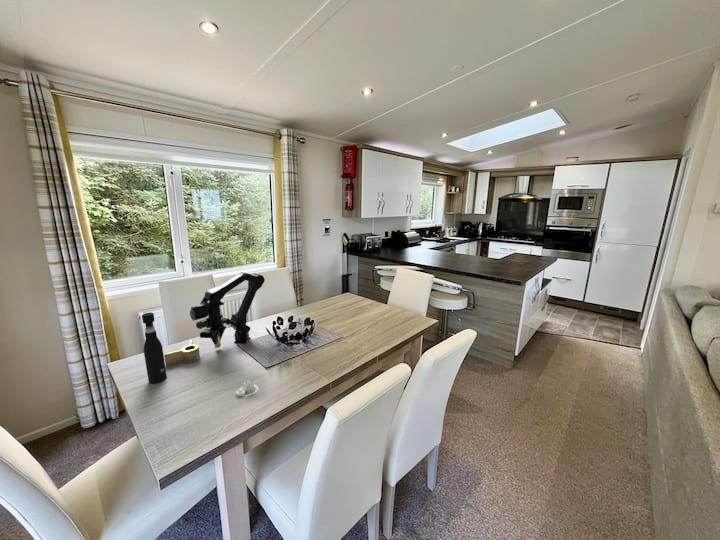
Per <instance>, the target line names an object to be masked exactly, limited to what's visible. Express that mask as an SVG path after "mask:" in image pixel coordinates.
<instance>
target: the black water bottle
mask: <svg viewBox="0 0 720 540" xmlns="http://www.w3.org/2000/svg"><path fill="white" fill-rule="evenodd" d="M141 318H142V324H145V329H144V337H145V341H144V345H143V355H144V361H145V367H146V373H147V379H148V380H147V381H148V383H149V384H151V385H153V384H159V383H161V382H164V381H166V379H167V378H168V377H167V369H166V364H165V357H164V350H163V349H164V348H163V345H162V342H161V340H160V339H159V338H158V336H157V330H156V328H155V326H154V322H155V321H156V320H155V313H154V312H146V313H143V314H141Z"/></svg>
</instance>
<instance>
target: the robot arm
mask: <svg viewBox="0 0 720 540" xmlns="http://www.w3.org/2000/svg"><path fill="white" fill-rule="evenodd" d="M245 281H247V290H246V293H245V295H244V297H243V299H242V302H241V304H240V306H239V309H238V310H237V312H236V313H233V314H231V318H228V317H227V318H226V317H225V318H224V316H223V314H222V313H221V306H223V305H225V303H224V302H223V301H221V300H222V299H223V298H225V295H226V294H227V293H228V292H230V291H232V290H233V289H235V288H236V287H238V286H239V285H241V284H242V283H243V282H245ZM264 283H265V277H264V275H262V274H259V273H252V274H251V273H246V272H244V271H243V272H242V271H241V272H239V273H238V274H237V275H235V276H234V277H232V278H230V279H229V280H227V281H226V282H224V283H222V284H221V285H219V286H214V287H212V288H210V289H208V290H207V291H205V293H204V296H203V298H202V299H201V301H200V304H199V305H198V304H197V305H193V306H191V309H190V311H189V316H190V319H191V320H192V321H196V322H195V327H196V328H197V329H199V330H202V329H203V328H205V329H203V330H202V331H200V333H199V338H202V339H211V342H212V343H213V345H214V344H215V345H216V344H217V342H218V337H219V333H218V332H217V331H219V332H220V341H221V340H222V337H223V335H224V332H225V330H226V328H227V326H230V327H231V328H232V329H233V330H235V331H234V340H235V341H234V344H246V343H248V342H249V340H250V339H251V337H250V331H251V326H249V325H247V322H248V317H247V315H248V313H249V310H250V308H251V305H252V303H253V301H254V299H255V297H256V294H257V291H258V290H260V288H262V286H263V285H264ZM201 319H202V320H201ZM224 324H225V325H226V326H225V325H224Z"/></svg>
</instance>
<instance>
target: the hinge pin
mask: <svg viewBox="0 0 720 540" xmlns="http://www.w3.org/2000/svg"><path fill="white" fill-rule="evenodd" d="M217 332H218V333H219V337H218V342H217V344H216V345H215V344H214V343H213V345H214V348H215V349H217V348H219V349H220V348H221V346H222V343H221V340H220V332H219V331H217Z"/></svg>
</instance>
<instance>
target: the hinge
mask: <svg viewBox="0 0 720 540" xmlns="http://www.w3.org/2000/svg"><path fill="white" fill-rule="evenodd" d="M199 347H200V346H199V345H198V344H194V343H193V339H192V338H190V339H189V345H185V346H183V347H182V348H181V349H179V350H175V351H171V352H167V353H163V355H164V362H165V367H168V366H172V365H176V364H180V363H184V364H191V363H194V362H197V361H198V360H199V359H201V356H200V355H201V354H200V348H199Z"/></svg>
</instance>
